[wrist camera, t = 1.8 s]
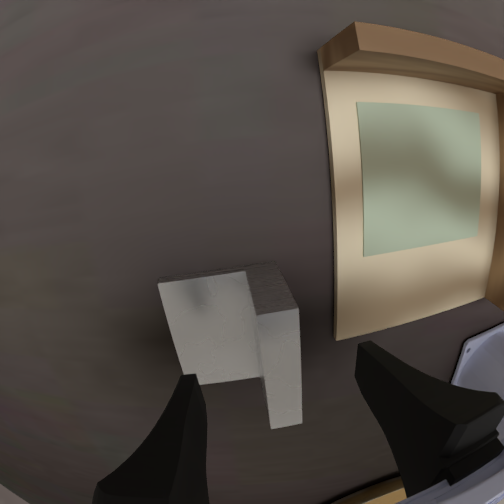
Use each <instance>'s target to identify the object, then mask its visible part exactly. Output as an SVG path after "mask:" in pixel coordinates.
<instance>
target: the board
mask: <svg viewBox="0 0 504 504" xmlns="http://www.w3.org/2000/svg"><path fill="white" fill-rule="evenodd" d="M317 54H318V61H319V68H320V75H321V83H322V91H323V99H324V107H325V117H326V126H327V137H328V148H329V160H330V174H331V189H332V208H333V233H334V338H335V340H336V341H338V340H342V339H347V338H351V337H355V336H359V335H363V334H367V333H371V332H375V331H379V330H383V329H386V328H390V327H394V326H397V325H401V324H404V323H408V322H411V321H415V320H418V319H421V318H424V317H428V316H431V315H434V314H437V313H440V312H443V311H446V310H449V309H452V308H455V307H458V306H461V305H464V304H467V303H470V302H473V301H475V300H478V299H481V298H483V297H485V292H486V288H487V283H488V278H489V273H490V267H491V261H492V255H493V248H494V241H495V233H496V224H497V214H498V201H499V181H500V143H499V123H498V111H497V101H496V94H494V93H490V92H486V91H482V90H478V89H474V88H469V87H465V86H460V85H456V84H451V83H445V82H440V81H434V80H428V79H422V78H415V77H407V76H399V75H390V74H380V73H368V72H352V71H323V64H322V57H321V50H320V49H318V50H317Z"/></svg>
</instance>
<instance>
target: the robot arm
mask: <svg viewBox="0 0 504 504" xmlns="http://www.w3.org/2000/svg"><path fill="white" fill-rule="evenodd" d="M355 378H356V381H357V383H358V386H359V388H360V391H361V393H362V395H363V397H364V399H365V400H366V402H367V404H368V406H369V407H370V409H371V411H372V412H373V414H374V416H375V417H376V419H377V421H378V423H379V424H380V426H381V428H382V430H383V432H384V434H385V436H386V438H387V440H388V443H389V445H390V448H391V450H392V453H393V455H394V458H395V461H396V463H397V466H398V469H399V473H400V476H401V479H402V482H403V486H404V489H405V493H406V497H407V499H404V500H402V501H400V502H397V503H395V504H497V503H498V502H499V501H501V500H502V499H503V498H504V323H502V324H500V325H498V326H496V327H494V328H492V329H490V330H488V331H486V332H483V333H481V334H479V335H477V336H474V337H472V338H470V339H468V340H467V341H466V342H465V343H464V346H463V349H462V352H461V355H460V358H459V361H458V364H457V367H456V370H455V373H454V376H453V379H452V381H451V384H449V383H446V382H444V381H441V380H438V379H436V378H433V377H431V376H429V375H427V374H424V373H422V372H420V371H419V370H417V369H415V368H413V367H411V366H409V365H408V364H406V363H404V362H403V361H401V360H399V359H398V358H396V357H395V356H393V355H391V354H390V353H388V352H387V351H385V350H384V349H382V348H381V347H379V346H378V345H376V344H375V343H373V342H372V341H367V342H363V343H359V344H358V350H357V360H356V369H355ZM206 448H207V414H206V404H205V401H204V398H203V394H202V391H201V388H200V385H199V382H198V378H197V375H196V373H195V374H185V375H182V376H181V377H180V379H179V382H178V384H177V386H176V388H175V391H174V393H173V395H172V397H171V399H170V401H169V403H168V405H167V406H166V408H165V410H164V412H163V414H162V415H161V417H160V419H159V420H158V422H157V423H156V425H155V427H154V428H153V429H152V431H151V432H150V434H149V435H148V436H147V438H146V439H145V440H144V441H143V443H142V444H141V445H140V446H139V447H138V448H137V450H136V451H135V452H134V453H133V454H132V455H131V456H130V457H129V458H128V459H127V460H126V461H125V462H124V463H122V464H121V465H120V466H119V467H118V468H117V469H116V470H115V471H113V472H112V473H111V474H109V475H108V476H106V477H105V478H104V479H102V480H101V481H99V482H98V483H97V486H96V489H95V491H94V496H93V501H92V504H209V497H208V488H207V478H206Z"/></svg>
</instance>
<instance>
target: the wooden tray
mask: <svg viewBox="0 0 504 504" xmlns="http://www.w3.org/2000/svg"><path fill="white" fill-rule="evenodd" d="M320 50H321V57H322V64H323V71H352V72H368V73H380V74H390V75H399V76H407V77H415V78H422V79H428V80H434V81H440V82H445V83H451V84H456V85H460V86H465V87H469V88H474V89H478V90H482V91H486V92H490V93H494V94H496V101H497V111H498V123H499V143H500V181H499V201H498V214H497V224H496V233H495V241H494V248H493V255H492V261H491V267H490V273H489V278H488V283H487V288H486V292H485V298H486V299H488V300H489V301H490V302H492V303H493V304H495V305H496V306H497V307H499V308H500V309H501V310H503V311H504V60H503V59H501V58H498V57H496V56H493V55H490V54H488V53H485V52H482V51H480V50H477V49H474V48H471V47H468V46H465V45H462V44H459V43H455V42H452V41H449V40H445V39H442V38H438V37H434V36H430V35H426V34H422V33H418V32H413V31H409V30H404V29H399V28H394V27H388V26H382V25H376V24H369V23H362V22H353V23H352V24H350V25H349V26H348V27H346V28H345V29H344V30H343V31H341V32H340V33H339V34H337V35H336V36H335V37H333V38H332V39H331V40H330V41H328V42H327V43H326V44H325V45H323V46H322V47H321V48H320Z"/></svg>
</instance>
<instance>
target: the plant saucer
mask: <svg viewBox="0 0 504 504" xmlns="http://www.w3.org/2000/svg"><path fill="white" fill-rule="evenodd" d="M404 499H407V497H406V493H405V489H404V486H403V482H402V479H401V476H399V477H396V478H392V479H389V480H386V481H383V482H380V483H378V484H375V485H372V486H370V487H367V488H365V489H362V490H360V491H357V492H355V493H353V494H350V495H348V496H346V497H344V498H341V499H339V500H337V501H335V502H333V503H331V504H395V503H397V502H400V501H402V500H404Z"/></svg>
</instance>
